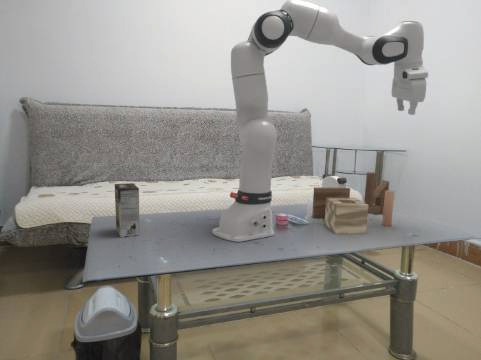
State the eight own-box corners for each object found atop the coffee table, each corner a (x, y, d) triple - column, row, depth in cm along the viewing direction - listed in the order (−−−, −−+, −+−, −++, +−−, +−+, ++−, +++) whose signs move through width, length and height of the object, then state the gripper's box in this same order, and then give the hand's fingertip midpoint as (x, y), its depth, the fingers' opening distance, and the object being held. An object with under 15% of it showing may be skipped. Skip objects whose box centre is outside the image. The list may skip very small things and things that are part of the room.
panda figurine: (350, 210, 162) (353, 177, 159) (331, 213, 156) (333, 178, 154) (331, 204, 172) (334, 173, 170) (313, 207, 167) (315, 174, 164)
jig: (374, 237, 125) (378, 200, 123) (329, 238, 123) (332, 200, 121) (347, 219, 147) (350, 187, 145) (309, 219, 145) (311, 187, 143)
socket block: (366, 233, 126) (368, 204, 124) (335, 233, 125) (337, 204, 123) (352, 224, 137) (355, 197, 135) (324, 224, 135) (326, 197, 134)
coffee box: (115, 230, 125) (114, 183, 123) (134, 227, 128) (133, 182, 126) (119, 237, 117) (118, 188, 115) (140, 235, 120) (139, 187, 118)
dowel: (388, 229, 134) (392, 192, 132) (380, 227, 137) (383, 191, 134) (392, 228, 137) (396, 191, 134) (384, 226, 139) (387, 190, 137)
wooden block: (386, 213, 159) (390, 172, 156) (367, 215, 154) (370, 173, 151) (380, 211, 162) (383, 171, 159) (361, 213, 158) (364, 172, 155)
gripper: (387, 71, 135) (386, 109, 140) (410, 74, 116) (408, 117, 120) (405, 70, 135) (403, 107, 139) (431, 72, 116) (428, 116, 120)
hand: (406, 112), depth 130 cm, fingers open, 8 cm apart
